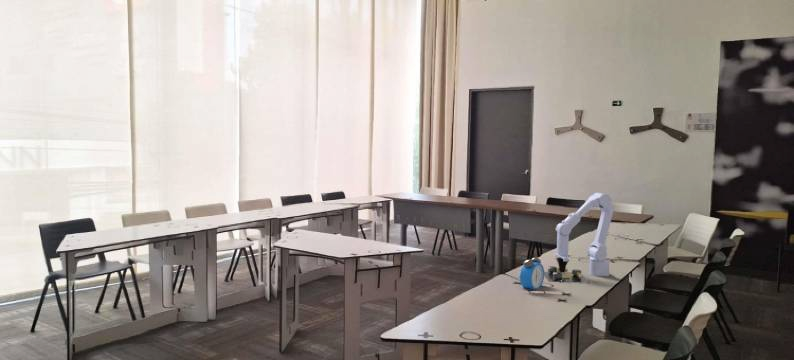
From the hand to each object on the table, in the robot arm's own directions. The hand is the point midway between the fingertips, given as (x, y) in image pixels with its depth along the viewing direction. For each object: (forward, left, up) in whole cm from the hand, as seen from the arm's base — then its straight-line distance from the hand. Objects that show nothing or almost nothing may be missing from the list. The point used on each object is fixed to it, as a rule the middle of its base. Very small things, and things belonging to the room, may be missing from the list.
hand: (562, 272), depth 276 cm
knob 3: (-6, +7, -1) cm, 9 cm away
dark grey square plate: (0, +4, -3) cm, 5 cm away
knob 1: (+2, -2, -1) cm, 3 cm away
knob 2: (+2, +10, -1) cm, 10 cm away
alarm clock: (+20, +24, -3) cm, 31 cm away
